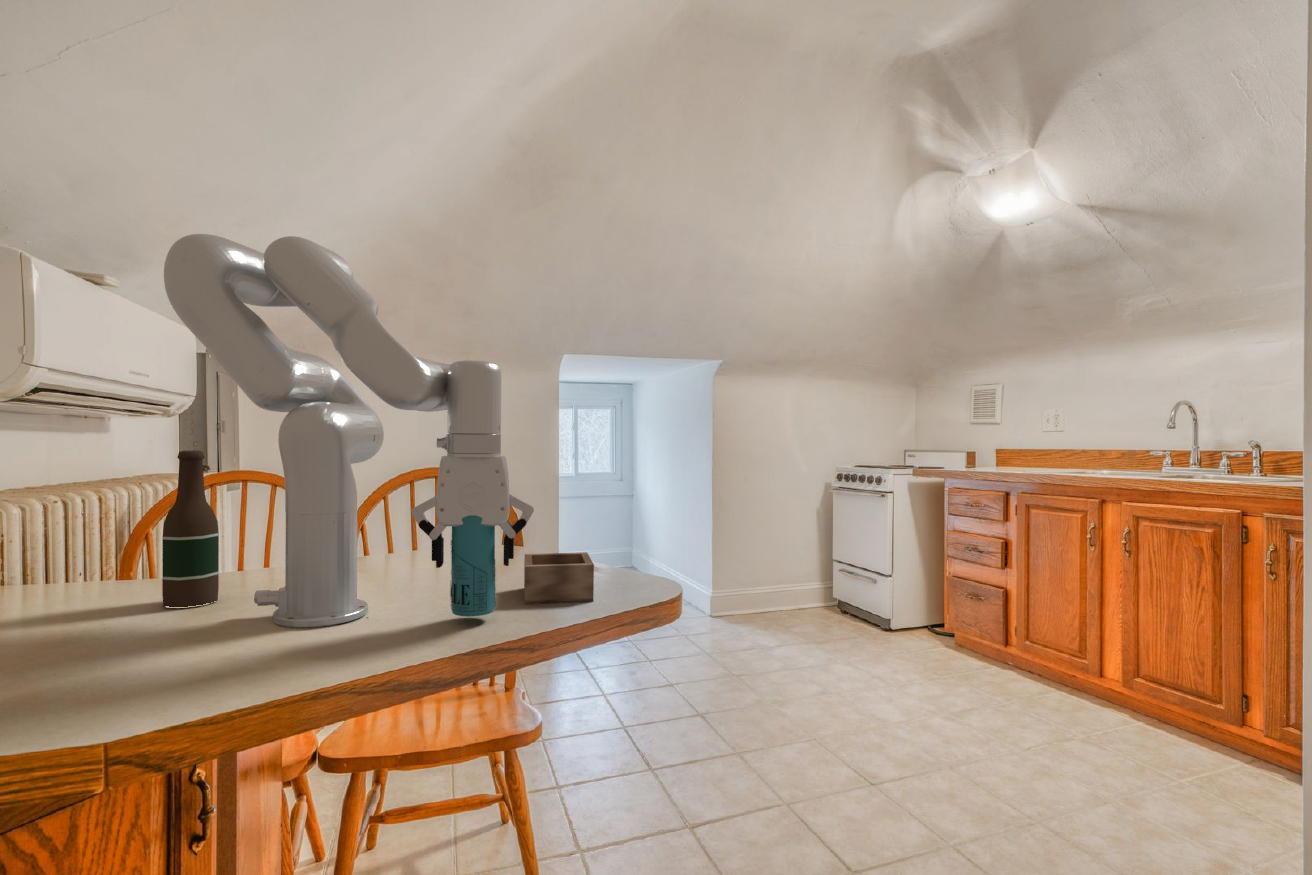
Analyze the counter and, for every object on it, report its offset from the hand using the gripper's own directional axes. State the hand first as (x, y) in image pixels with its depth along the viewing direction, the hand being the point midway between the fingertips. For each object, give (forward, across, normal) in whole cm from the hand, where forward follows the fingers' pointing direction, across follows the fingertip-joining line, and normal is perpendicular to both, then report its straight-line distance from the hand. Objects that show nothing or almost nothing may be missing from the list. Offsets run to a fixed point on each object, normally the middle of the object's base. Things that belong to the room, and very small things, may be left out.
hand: (473, 564), depth 99 cm
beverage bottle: (+8, 0, 0) cm, 8 cm away
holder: (+8, +13, +14) cm, 21 cm away
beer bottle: (+8, -44, +17) cm, 48 cm away
